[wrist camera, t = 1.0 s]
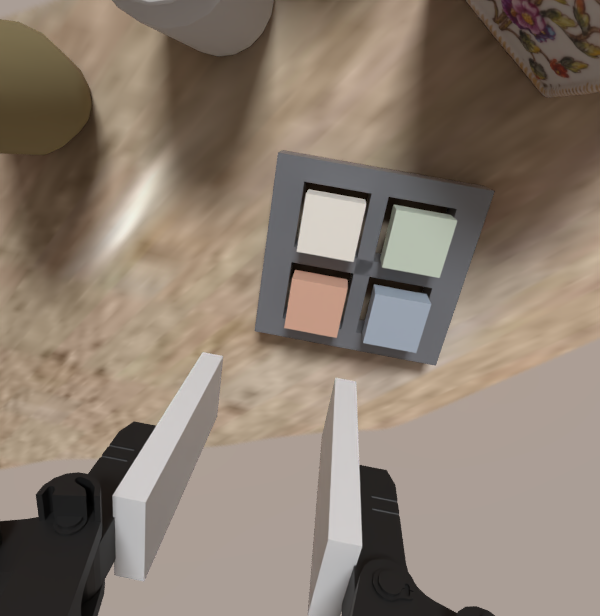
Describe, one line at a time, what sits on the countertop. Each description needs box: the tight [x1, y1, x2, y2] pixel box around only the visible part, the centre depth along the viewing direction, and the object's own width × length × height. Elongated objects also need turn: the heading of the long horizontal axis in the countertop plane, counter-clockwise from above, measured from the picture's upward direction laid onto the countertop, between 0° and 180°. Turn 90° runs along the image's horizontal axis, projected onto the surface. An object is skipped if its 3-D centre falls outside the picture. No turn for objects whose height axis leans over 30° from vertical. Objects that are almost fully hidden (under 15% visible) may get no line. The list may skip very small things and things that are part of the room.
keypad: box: [255, 150, 495, 365], centre depth 33 cm, size 15×14×3 cm
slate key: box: [362, 284, 431, 353], centre depth 33 cm, size 4×4×3 cm
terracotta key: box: [284, 270, 348, 338], centre depth 33 cm, size 4×4×3 cm
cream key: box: [297, 189, 366, 262], centre depth 30 cm, size 4×4×3 cm
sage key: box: [380, 204, 457, 278], centre depth 30 cm, size 4×4×3 cm
